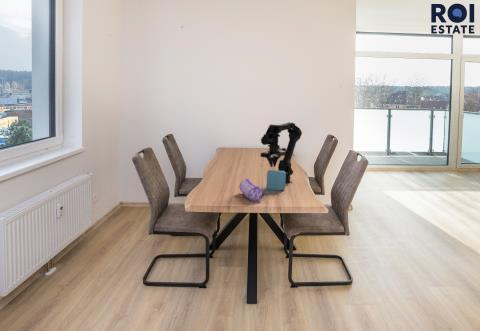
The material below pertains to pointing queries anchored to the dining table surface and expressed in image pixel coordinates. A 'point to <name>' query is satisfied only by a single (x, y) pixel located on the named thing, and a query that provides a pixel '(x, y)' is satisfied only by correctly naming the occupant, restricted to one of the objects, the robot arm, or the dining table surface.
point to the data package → (276, 180)
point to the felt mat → (269, 191)
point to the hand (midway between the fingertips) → (272, 166)
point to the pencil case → (251, 190)
